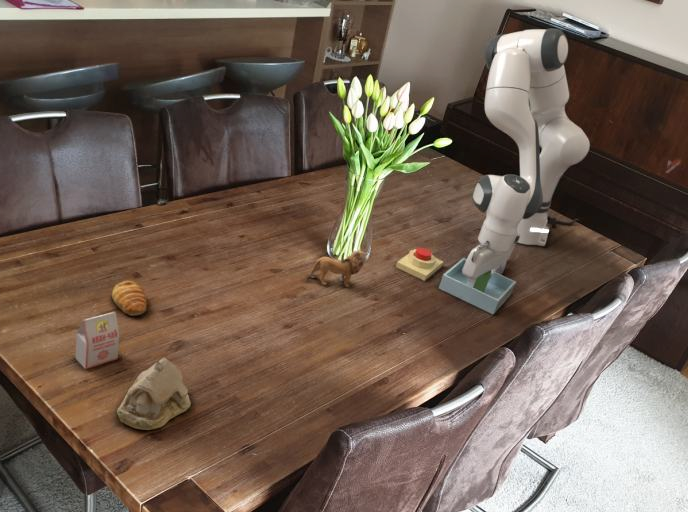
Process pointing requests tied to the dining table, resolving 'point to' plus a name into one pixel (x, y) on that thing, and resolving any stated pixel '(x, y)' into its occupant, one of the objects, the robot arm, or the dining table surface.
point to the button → (423, 254)
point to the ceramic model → (155, 397)
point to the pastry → (130, 298)
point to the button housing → (419, 265)
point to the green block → (482, 281)
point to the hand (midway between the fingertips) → (479, 282)
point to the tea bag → (97, 340)
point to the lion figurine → (339, 266)
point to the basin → (488, 301)
